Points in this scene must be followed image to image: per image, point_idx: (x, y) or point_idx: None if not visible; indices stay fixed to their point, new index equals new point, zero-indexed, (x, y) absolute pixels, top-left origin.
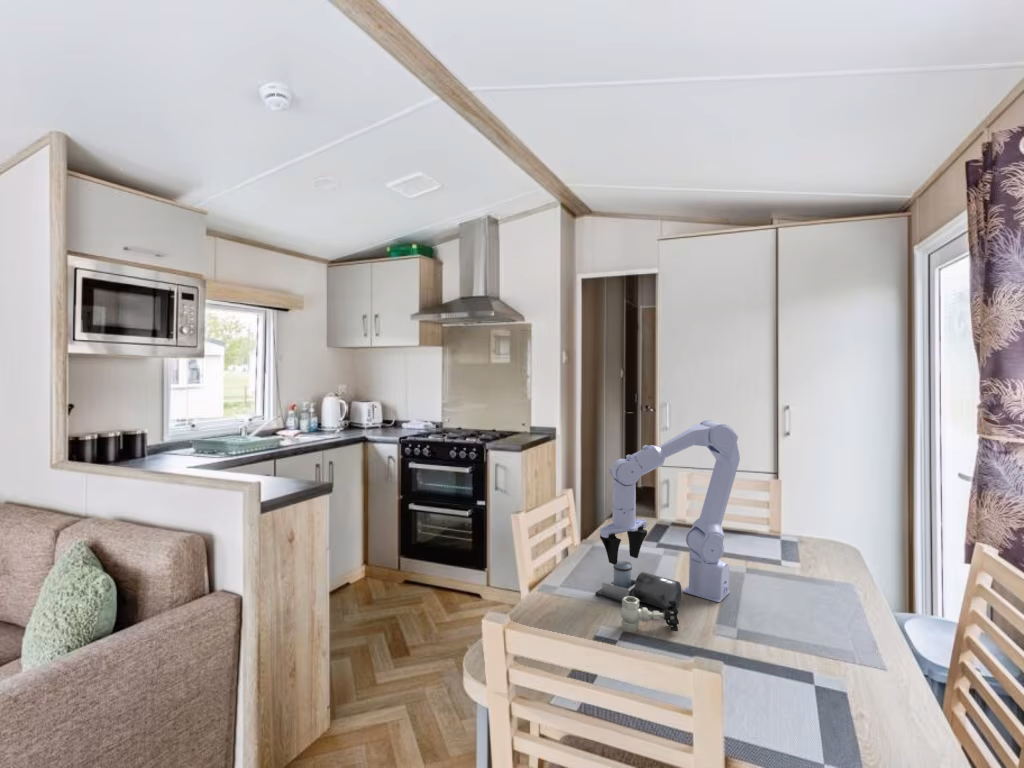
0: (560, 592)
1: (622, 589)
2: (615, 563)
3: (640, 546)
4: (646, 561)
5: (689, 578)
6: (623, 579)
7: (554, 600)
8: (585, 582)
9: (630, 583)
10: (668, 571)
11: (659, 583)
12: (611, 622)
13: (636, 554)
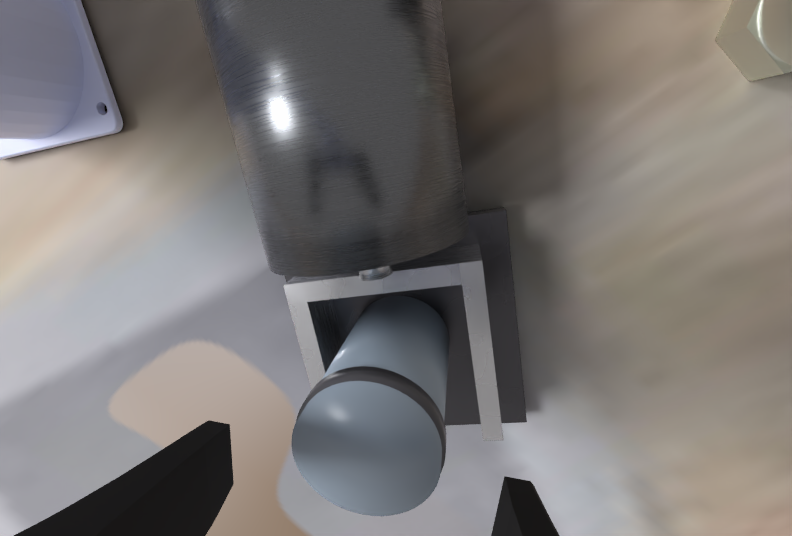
0: (623, 533)
1: (486, 306)
2: (527, 487)
3: (84, 504)
4: (44, 445)
5: (3, 103)
6: (428, 356)
7: (731, 509)
8: (436, 510)
9: (378, 319)
10: (25, 326)
11: (374, 20)
12: (783, 155)
13: (203, 450)
